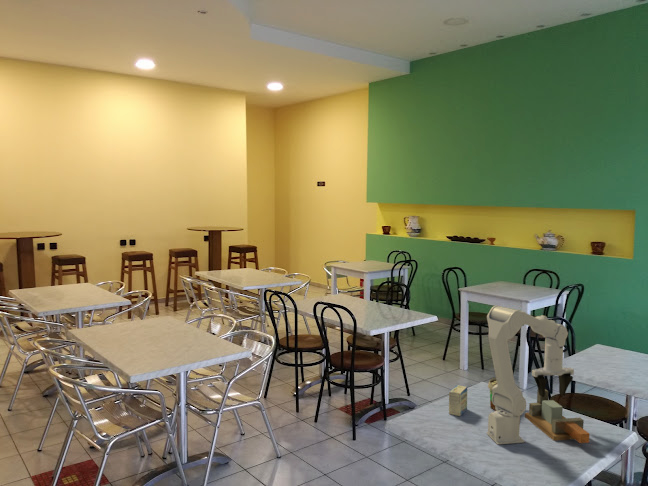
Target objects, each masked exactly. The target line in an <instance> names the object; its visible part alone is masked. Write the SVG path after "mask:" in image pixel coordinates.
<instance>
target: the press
mask: <svg viewBox="0 0 648 486" xmlns="http://www.w3.org/2000/svg"><path fill="white" fill-rule="evenodd" d="M536 397H537V398H536V402H530V403H529V405H528V407H529V408H528V412H524V417H525V419H527V420H528V421H529V422H530V423H532V424H533V425H534V426H535V427H536V428H538V429H539V430H540V431H541V432H542V433H544V434H545V435H546V436H547V437H549V438H550V439H551V440H552V441H568V440H569V441H570V440H575V439H574V438H573V437H571V436H570V435H569V434H567V433H560V434H555V433H553V432H552V424H550V423H549V422H547V421H546V420H545V419H543V418H542V417H541V414H542V401H544V400H549V391H548V390H547V389H546V388H545V396H544V397H542V396H540V395H539V391H538V389H537V395H536ZM555 402H556V403H558V402H557V401H555ZM562 419H566V417H565V416H564V415H562Z"/></svg>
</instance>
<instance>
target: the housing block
mask: <svg viewBox="0 0 648 486" xmlns="http://www.w3.org/2000/svg"><path fill="white" fill-rule="evenodd" d="M556 402H557V401H555V400H554V399H548V400H544V401H542V414H541V417H542V418H543V419H545V420H546V421H547V422H549V423H550V424H552V419H562V416H563V409H564V408H563V406H562V405H561V404H560V403H558V402H557V403H556Z"/></svg>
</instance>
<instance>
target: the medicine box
mask: <svg viewBox="0 0 648 486" xmlns="http://www.w3.org/2000/svg"><path fill="white" fill-rule="evenodd" d="M467 409H468V386H464V385H459V384H457V385H455V386H454V387H453V388H451V390H449V391H448V414H449V415H451V416H456V417H461V416H462V415H463V414H464V413H465V412H466V410H467Z"/></svg>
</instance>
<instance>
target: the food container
mask: <svg viewBox="0 0 648 486" xmlns="http://www.w3.org/2000/svg"><path fill="white" fill-rule="evenodd" d="M496 384H497V381H496V377H492V378H491V379H489V381H488V383H487V388H488V389H489V403H490V406H489V407H490V409H491V410H492V411H493V412H495V411H496V409H495V405H494V404H493V403H492V388H493V387H494V386H495V385H496Z"/></svg>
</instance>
